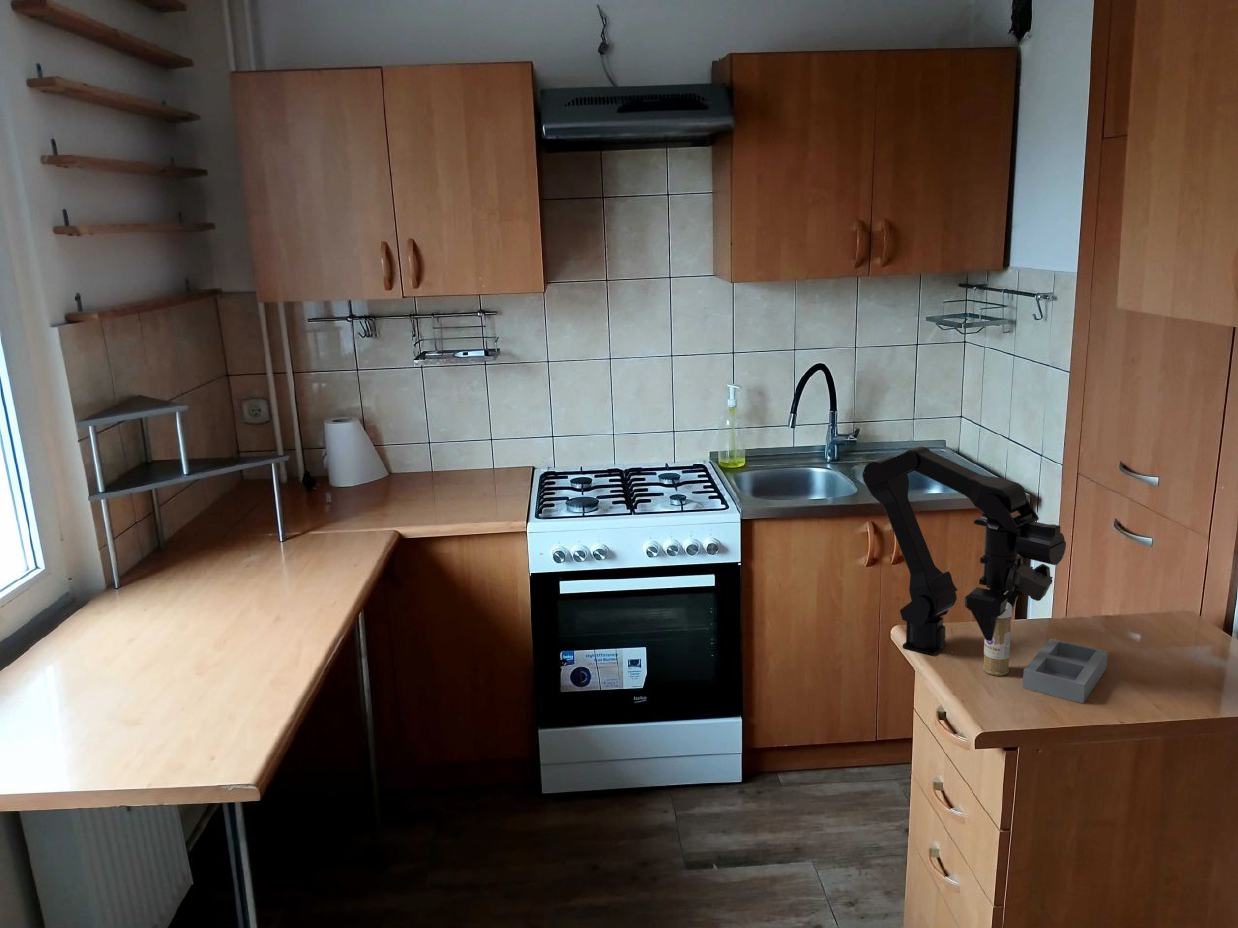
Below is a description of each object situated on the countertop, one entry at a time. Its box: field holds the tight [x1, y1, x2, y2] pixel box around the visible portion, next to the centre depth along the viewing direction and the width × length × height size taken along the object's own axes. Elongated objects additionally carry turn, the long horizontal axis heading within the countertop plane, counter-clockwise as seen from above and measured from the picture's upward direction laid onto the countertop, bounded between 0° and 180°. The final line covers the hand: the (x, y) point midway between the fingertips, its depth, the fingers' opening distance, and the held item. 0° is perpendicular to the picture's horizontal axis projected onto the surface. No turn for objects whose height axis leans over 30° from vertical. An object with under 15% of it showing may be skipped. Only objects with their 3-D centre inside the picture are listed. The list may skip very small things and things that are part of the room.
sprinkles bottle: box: [982, 602, 1013, 677], centre depth 170 cm, size 5×5×14 cm
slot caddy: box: [1022, 638, 1108, 704], centre depth 167 cm, size 10×16×4 cm, turn 140°
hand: (997, 631), depth 170 cm, fingers open, 9 cm apart
